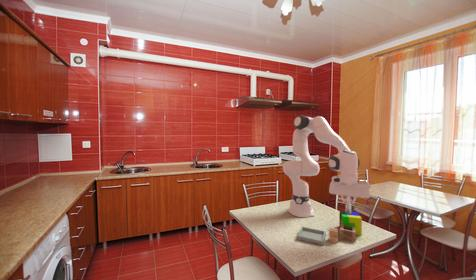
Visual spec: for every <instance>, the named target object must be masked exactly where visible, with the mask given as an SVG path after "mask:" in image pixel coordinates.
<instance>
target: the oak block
mask: <svg viewBox="0 0 476 280" xmlns="http://www.w3.org/2000/svg"><path fill="white" fill-rule="evenodd" d="M328 231H329V233H328V239H329V240H328V242H330V243H335V244H338V242H339V229H338V228H334V227H329V229H328Z"/></svg>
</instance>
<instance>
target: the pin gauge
mask: <svg viewBox="0 0 476 280" xmlns="http://www.w3.org/2000/svg"><path fill="white" fill-rule="evenodd" d="M345 200H346V203H345V211H346V213H348V214H351V212H352V204H351V200H352V196H345Z"/></svg>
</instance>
